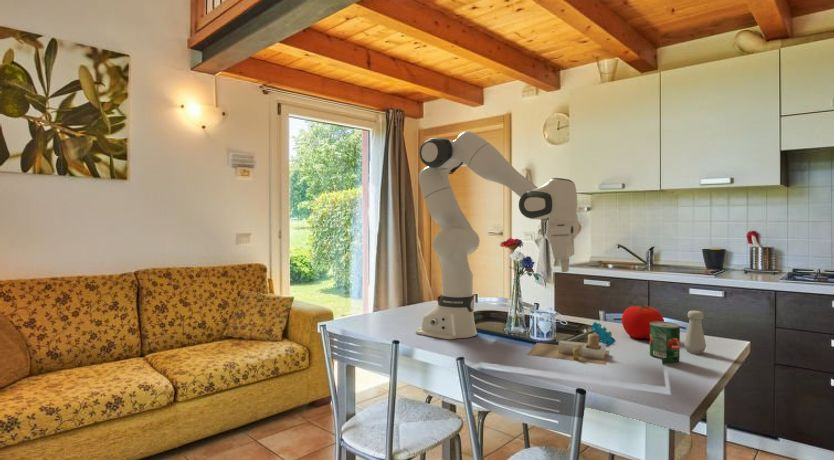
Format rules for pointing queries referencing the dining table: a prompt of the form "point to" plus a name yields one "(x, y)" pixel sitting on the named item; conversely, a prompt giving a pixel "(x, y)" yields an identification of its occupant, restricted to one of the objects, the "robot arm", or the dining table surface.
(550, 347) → the post board
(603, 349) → the tan pipe fitting
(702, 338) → the salt shaker
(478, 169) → the robot arm
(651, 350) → the canned tomato
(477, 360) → the dining table surface
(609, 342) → the gear
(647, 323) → the tomato
